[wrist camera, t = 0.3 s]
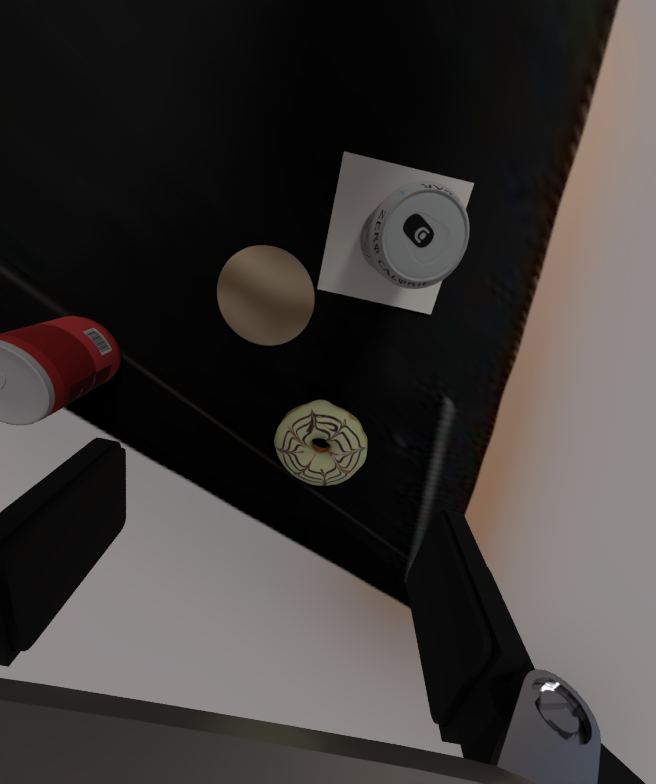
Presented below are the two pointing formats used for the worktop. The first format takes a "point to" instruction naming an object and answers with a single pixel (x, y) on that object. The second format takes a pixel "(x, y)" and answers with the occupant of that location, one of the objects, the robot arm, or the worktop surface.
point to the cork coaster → (265, 295)
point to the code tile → (350, 210)
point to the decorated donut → (316, 461)
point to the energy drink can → (416, 235)
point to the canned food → (53, 366)
